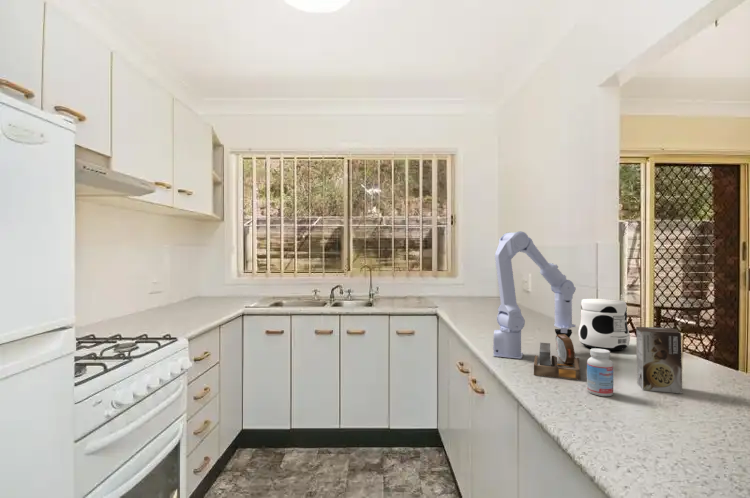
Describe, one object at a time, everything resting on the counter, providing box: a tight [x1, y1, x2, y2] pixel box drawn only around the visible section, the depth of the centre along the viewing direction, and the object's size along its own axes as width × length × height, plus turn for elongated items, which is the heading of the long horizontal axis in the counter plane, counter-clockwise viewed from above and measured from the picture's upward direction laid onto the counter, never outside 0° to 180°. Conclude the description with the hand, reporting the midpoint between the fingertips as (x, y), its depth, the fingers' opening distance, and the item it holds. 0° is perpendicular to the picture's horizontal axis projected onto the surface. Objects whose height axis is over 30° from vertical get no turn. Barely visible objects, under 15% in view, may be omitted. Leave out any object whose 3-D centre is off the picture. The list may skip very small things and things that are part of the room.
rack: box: [533, 342, 581, 381], centre depth 129 cm, size 13×16×7 cm
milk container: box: [578, 298, 631, 351], centre depth 158 cm, size 17×17×18 cm
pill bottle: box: [586, 348, 614, 397], centre depth 109 cm, size 6×6×11 cm
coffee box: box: [635, 326, 683, 394], centre depth 112 cm, size 9×6×16 cm
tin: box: [555, 334, 576, 365], centre depth 139 cm, size 15×3×8 cm, turn 168°
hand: (563, 349), depth 150 cm, fingers closed
